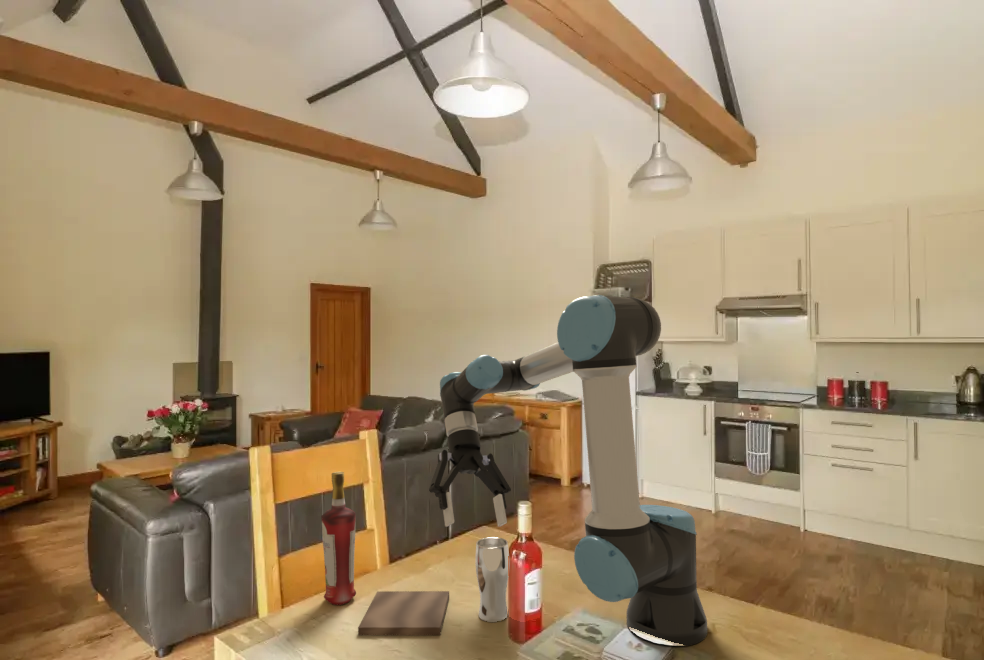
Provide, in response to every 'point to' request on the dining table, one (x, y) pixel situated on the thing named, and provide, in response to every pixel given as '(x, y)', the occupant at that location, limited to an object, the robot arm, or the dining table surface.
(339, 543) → the liquor
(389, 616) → the walnut board
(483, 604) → the silver metal tumbler
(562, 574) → the dining table surface
